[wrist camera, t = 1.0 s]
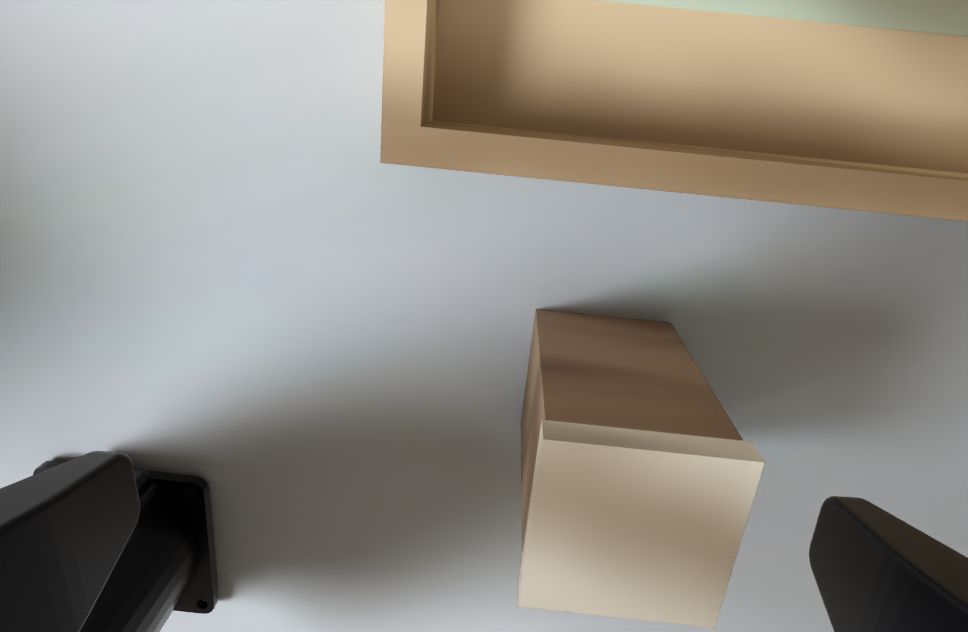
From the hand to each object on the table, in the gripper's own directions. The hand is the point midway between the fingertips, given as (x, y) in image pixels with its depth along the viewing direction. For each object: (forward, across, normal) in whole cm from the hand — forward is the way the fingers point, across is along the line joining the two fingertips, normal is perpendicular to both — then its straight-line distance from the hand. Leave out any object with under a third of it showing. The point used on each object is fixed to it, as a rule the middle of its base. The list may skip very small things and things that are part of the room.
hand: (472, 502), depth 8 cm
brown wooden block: (+13, -4, +4) cm, 14 cm away
